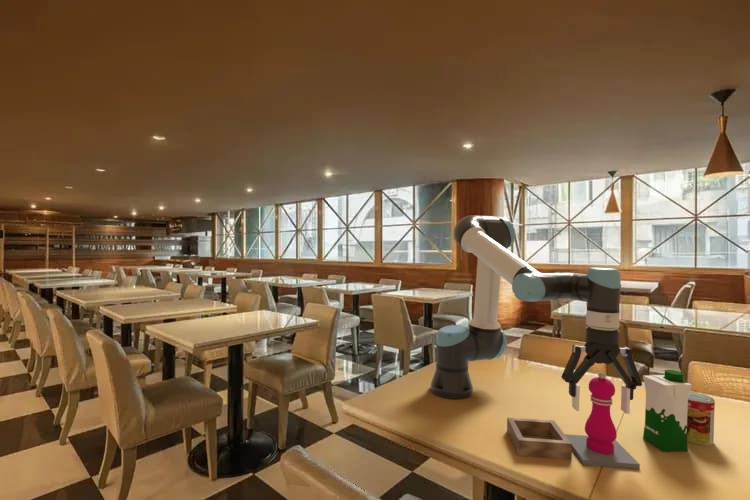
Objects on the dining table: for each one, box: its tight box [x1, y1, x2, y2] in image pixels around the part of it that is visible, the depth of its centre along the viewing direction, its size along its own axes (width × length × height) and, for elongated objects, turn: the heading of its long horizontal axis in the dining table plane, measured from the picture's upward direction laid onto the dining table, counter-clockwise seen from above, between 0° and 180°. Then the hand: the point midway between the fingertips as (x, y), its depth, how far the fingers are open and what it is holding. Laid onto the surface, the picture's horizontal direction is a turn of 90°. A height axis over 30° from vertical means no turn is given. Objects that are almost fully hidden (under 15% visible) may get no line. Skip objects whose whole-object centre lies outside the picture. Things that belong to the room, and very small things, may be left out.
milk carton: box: [642, 369, 693, 453], centre depth 106 cm, size 9×9×20 cm
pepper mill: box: [584, 371, 618, 454], centre depth 101 cm, size 7×7×20 cm
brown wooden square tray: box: [506, 416, 573, 460], centre depth 105 cm, size 13×13×4 cm
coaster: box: [564, 433, 641, 470], centre depth 101 cm, size 13×13×1 cm
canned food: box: [687, 391, 716, 447], centre depth 109 cm, size 8×8×12 cm
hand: (600, 410), depth 101 cm, fingers open, 11 cm apart
